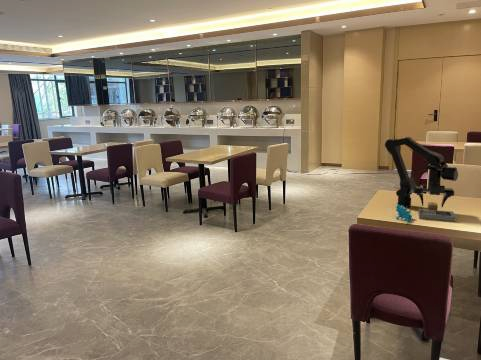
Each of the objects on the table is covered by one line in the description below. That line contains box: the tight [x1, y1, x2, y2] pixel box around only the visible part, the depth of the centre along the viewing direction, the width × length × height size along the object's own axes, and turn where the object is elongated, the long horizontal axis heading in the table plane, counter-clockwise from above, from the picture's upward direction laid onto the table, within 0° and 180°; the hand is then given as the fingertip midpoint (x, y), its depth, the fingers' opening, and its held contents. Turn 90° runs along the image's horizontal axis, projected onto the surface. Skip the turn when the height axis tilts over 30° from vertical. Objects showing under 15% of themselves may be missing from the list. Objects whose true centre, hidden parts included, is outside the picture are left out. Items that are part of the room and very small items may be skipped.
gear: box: [395, 205, 413, 223], centre depth 187 cm, size 11×6×10 cm
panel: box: [418, 208, 457, 223], centre depth 189 cm, size 16×9×3 cm, turn 68°
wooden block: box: [426, 201, 439, 210], centre depth 199 cm, size 4×4×5 cm
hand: (432, 206), depth 199 cm, fingers open, 9 cm apart
